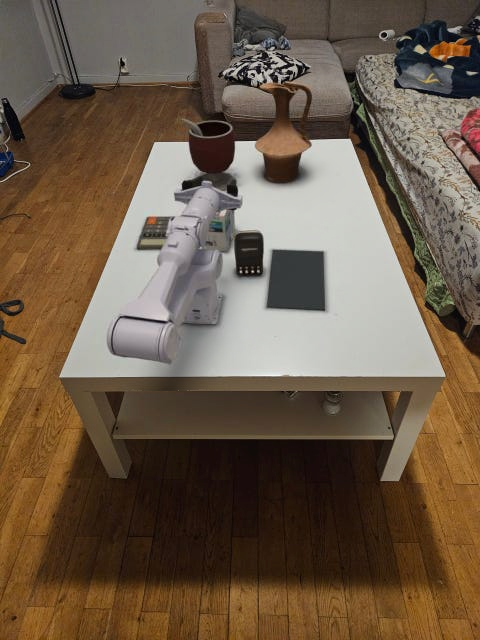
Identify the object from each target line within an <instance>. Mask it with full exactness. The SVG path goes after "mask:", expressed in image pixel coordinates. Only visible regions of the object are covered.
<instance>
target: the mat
mask: <svg viewBox="0 0 480 640" xmlns="http://www.w3.org/2000/svg"><path fill="white" fill-rule="evenodd" d="M324 256H325V255H324V251H321V250H320V251H319V250H316V251H315V250H295V249H272V252H271V261H270V271H269V278H268V280H269V281H268V289H267V298H266V308H267V309H284V310H285V309H286V310H302V311H303V310H304V311H321V312H324V311H325V312H326V294H325V293H326V291H325V289H326V288H325V262H324V261H325V258H324Z"/></svg>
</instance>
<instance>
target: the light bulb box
mask: <svg viewBox="0 0 480 640" xmlns="http://www.w3.org/2000/svg"><path fill="white" fill-rule="evenodd" d="M235 217H236V216H235V210H223V211H219V212H216V213H215V215H214V217H213V219H212V221H211V222H210V224H209V232H208V234H207V238H206V243H205V246H204V247H202V249H207V250H219V251H220V252H228V250H229V248H230V246H231V243H232V241H233V239H234V236H235V234H236V220H235Z"/></svg>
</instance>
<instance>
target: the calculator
mask: <svg viewBox="0 0 480 640" xmlns="http://www.w3.org/2000/svg"><path fill="white" fill-rule="evenodd" d="M172 216H173V215H172ZM172 216H171V215H170V216H168V215H167V216H146V218H145V221H144V224H143V226H142V230H141V232H140V235H139V238H138V241H137V243H136V249H137V250H161V249H162V247H163V245H164V243H165V241H166V232H167V228H168V223H169V220H170V218H171V217H172ZM174 216H175V217H176V216H177V215H174Z"/></svg>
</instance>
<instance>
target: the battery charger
mask: <svg viewBox="0 0 480 640" xmlns="http://www.w3.org/2000/svg"><path fill="white" fill-rule="evenodd" d="M264 240H265V239H264V234H263V233H262V231H260V230H257V229H256V230H255V229H253V230H252V229H251V230H249V229H248V230H238V231H236V232H235V233H234V236H233V252H234V260H235V273H236V275H237V276H238V277H258V276H262V275H263V272H264V254H265V241H264Z"/></svg>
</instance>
